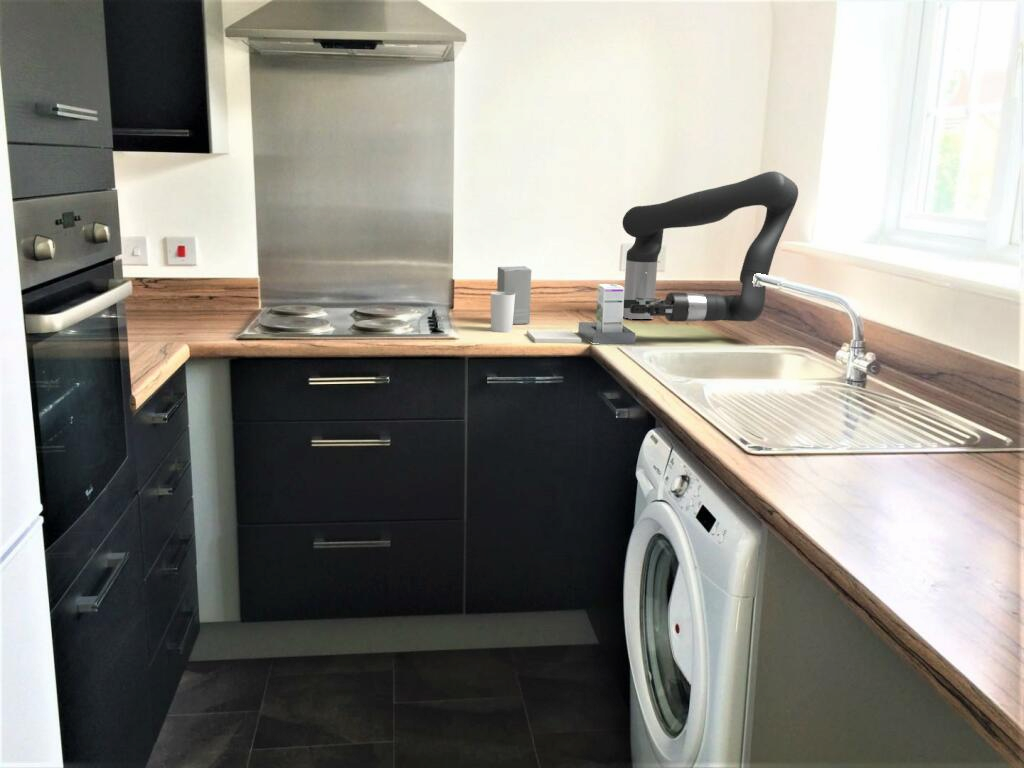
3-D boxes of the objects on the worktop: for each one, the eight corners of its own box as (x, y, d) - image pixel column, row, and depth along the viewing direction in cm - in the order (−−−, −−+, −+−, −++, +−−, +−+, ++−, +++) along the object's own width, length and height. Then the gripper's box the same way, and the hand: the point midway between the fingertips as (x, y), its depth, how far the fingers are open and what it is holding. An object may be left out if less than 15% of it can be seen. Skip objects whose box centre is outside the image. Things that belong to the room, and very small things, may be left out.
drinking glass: (498, 327, 257) (500, 291, 254) (518, 330, 253) (520, 293, 251) (484, 330, 251) (485, 293, 249) (504, 333, 248) (505, 295, 245)
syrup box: (622, 342, 241) (626, 286, 238) (600, 342, 240) (603, 286, 237) (615, 338, 247) (619, 283, 243) (594, 338, 246) (597, 283, 242)
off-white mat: (526, 333, 248) (526, 330, 248) (570, 334, 250) (571, 330, 250) (535, 342, 237) (535, 338, 237) (581, 342, 239) (581, 339, 239)
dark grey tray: (578, 333, 253) (579, 318, 252) (617, 333, 254) (618, 318, 254) (592, 344, 237) (593, 328, 236) (634, 344, 239) (635, 329, 238)
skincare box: (522, 320, 269) (525, 265, 265) (530, 324, 262) (533, 268, 259) (494, 321, 266) (496, 265, 263) (502, 325, 260) (504, 268, 256)
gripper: (677, 289, 251) (619, 288, 248) (696, 296, 237) (634, 295, 234) (675, 317, 252) (617, 316, 250) (693, 326, 239) (632, 325, 236)
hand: (625, 306), depth 242 cm, fingers open, 8 cm apart
